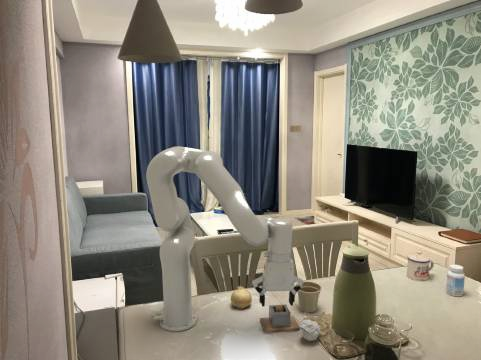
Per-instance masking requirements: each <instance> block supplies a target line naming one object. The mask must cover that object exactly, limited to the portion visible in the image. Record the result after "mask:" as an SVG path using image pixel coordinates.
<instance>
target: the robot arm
mask: <svg viewBox="0 0 481 360" xmlns="http://www.w3.org/2000/svg"><path fill="white" fill-rule="evenodd" d="M181 172H184V173H185V172H186V173H191V174H196V176H197V178H199V180H200V181H201V183H203V185H204V186H205V187H206V189H207V190H208V191H209V193H211V195H212V196H213V198H215V200H216V201H217V202H218V203H219V205H220V206H221V209H222V210H223V211H224V213H225V214H226V216H227V218H228V220H229V221H230V223H231V224H232V226H233V228H235V230H236V231H237V232H238V233H239V234H240V236H241V237H242V238H243V240H245V241H246V243H248V244H249V245H251V246H253V247H259V246H262V245H264V244H266V242H267V240H268V242H267V243H268V247H267V250H266V252H263V257H266V258H265V261H264V264H263V265H264V266H263V270H262V275H261V276H259V277H257V278H255V279H253V280H252V281H251V283H252V286H253V287H254V289H255V291H257V293H258V294H259V299H258V300H259V303H260V304H261V306H262V308H263V307H265V306H266V304H265V303H266V295H265V294H266V292H289V293H288V303H289V305H290V306H291V307H292V306H294V303H295V301H296V294H297V293H298V292H297V291H299V290H300V288H301V286H302V285H303V283H304V281H305V280H304V279H302V278H300V277H298V276H296V275H295V264H294V263H295V262H294V260H293V259H292V241H293V222H292V220H291V219H289V218H286V217H285V218H284V217H268V216H264V215H258V214H255V213H254V212H253V210H252V209H251V207H250V206H249V204H248V202H247V199H246V198H245V194H244V191H243V190H242V188H241V185H240V184H239V183H238V182H237V181H236V180H235V178H234V177H233V176H232V175H231V174H230V173H229V171H228V170H227V169H226V167H225V166H224V161H223V159H222V157H221V155H220V154H218V153H216V152H215V151H211V150H205V149H197V148H194V147H193V148H192V147H185V146H178V145H177V146H172V147H170V148H166V149H165V150H164V149H163V150H162V151H161V152H159V153H157V154H155V156H154V157H153V158H152V159H151V161H149V164H148V165H147V169H146V173H145V174H146V175H145V176H146V182H147V187H148V191H149V195H150V202H151V206H152V209H153V214H154V219H155V223H156V225H157V227H158V228H160V229H161V230H162V231H164V232H167V235H166V236H165V237H164V239H163V240H162V242H161V244H160V246H159V247H160V248H159V258H160V259H159V260H160V263H161V270H162V271H161V272H162V277H161V278H162V292H163V293H162V295H163V297H162V298H163V308H162V309H160V310H153V311H150V318H153V320H154V321H158V320H159V325H160V327H161V328H162V329H164V330H166V331H169V332H181V331H186V330H189V329H192V328H193V327H194V326H195V325H196V323H197V322H198V321H197V320H198V317H197V315H196V314H195V312H193V304H192V303H193V300H192V297H193V296H192V295H193V294H192V271H191V269H192V268H191V261H190V253H191V251H192V248H193V247H194V245H195V242H196V234H195V231H194V230H195V229H194V226H193V222H192V217H191V213H190V209H189V206H188V205H187V203H186V201H185V200H183V198H180V197H178V194H177V193H178V192H177V188H176V185H175V183H174V176H175V175H177V174H179V173H181ZM295 282H297V283H296V284H297V285H296V284H295ZM260 283H262V286H259V285H258V284H260Z"/></svg>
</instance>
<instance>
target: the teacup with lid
mask: <svg viewBox="0 0 481 360" xmlns="http://www.w3.org/2000/svg"><path fill="white" fill-rule="evenodd" d="M434 266H435V264H434V261H433V260H432V259H431V258H430V257H429V256H428V255H425V254H424V253H422V251H420V250H417V251H416V252H414V253H410V254H408V255H407V266H406V277H407V278H409V279H411V280H414V281H419V282H422V281H427V280H429V274H430V271H432V270H433V268H434Z"/></svg>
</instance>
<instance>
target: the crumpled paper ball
mask: <svg viewBox="0 0 481 360" xmlns="http://www.w3.org/2000/svg"><path fill="white" fill-rule="evenodd" d="M299 327H300V332H301V334H302V336H303V337H302V338H304V339H305V340H306V341H308V342H314V341H316V340H317V339H318V336H319V335H320V332H321V328H320V325H319V323H317V322H316V321H313V320H311V319H310V318H308V319H303V320H302V322H301V324H299Z"/></svg>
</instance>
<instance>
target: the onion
mask: <svg viewBox="0 0 481 360" xmlns="http://www.w3.org/2000/svg"><path fill="white" fill-rule="evenodd" d="M252 298H253V297H252V294H251V292H250V291H249V290H248V289H246V288H245V287H244V286H240V285H239V286H236V289H234V291H233V292H232V293H231V295H230V302H231V304H232V305H233V306H234V307H236V308H237V309H244V308H245V309H246V308H248V307H249V306H250V305H251V304H252V301H253V299H252Z"/></svg>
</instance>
